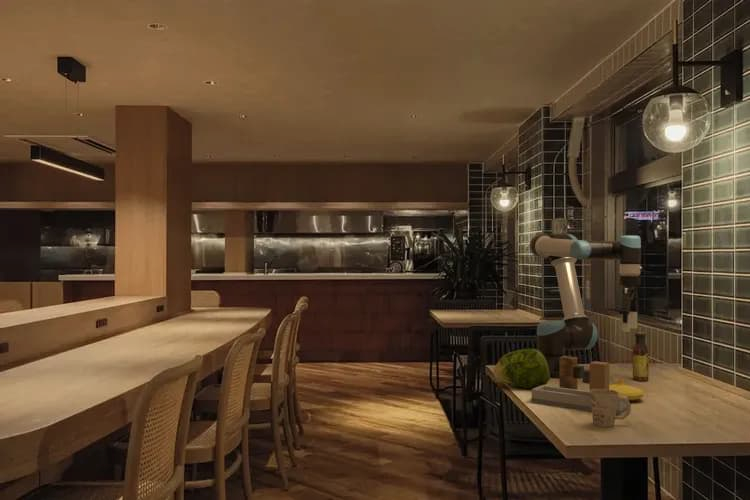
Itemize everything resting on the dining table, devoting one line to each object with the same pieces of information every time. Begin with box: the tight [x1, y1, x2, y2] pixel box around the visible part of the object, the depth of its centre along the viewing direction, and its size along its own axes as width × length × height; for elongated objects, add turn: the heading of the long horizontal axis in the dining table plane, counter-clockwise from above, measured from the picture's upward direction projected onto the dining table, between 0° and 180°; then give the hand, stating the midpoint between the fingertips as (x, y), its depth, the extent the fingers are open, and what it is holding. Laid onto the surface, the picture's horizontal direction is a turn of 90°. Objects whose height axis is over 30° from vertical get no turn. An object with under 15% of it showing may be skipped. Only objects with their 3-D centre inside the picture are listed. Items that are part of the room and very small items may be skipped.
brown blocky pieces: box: [530, 360, 628, 416], centre depth 218 cm, size 30×10×16 cm, turn 53°
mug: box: [588, 389, 632, 428], centre depth 194 cm, size 8×13×10 cm, turn 95°
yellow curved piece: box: [609, 378, 645, 402], centre depth 230 cm, size 16×16×7 cm
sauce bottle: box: [632, 332, 650, 382], centre depth 267 cm, size 6×6×20 cm
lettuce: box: [493, 348, 551, 389], centre depth 250 cm, size 16×21×15 cm
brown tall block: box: [558, 355, 585, 390], centre depth 235 cm, size 8×5×14 cm, turn 53°
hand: (629, 329), depth 248 cm, fingers open, 13 cm apart
